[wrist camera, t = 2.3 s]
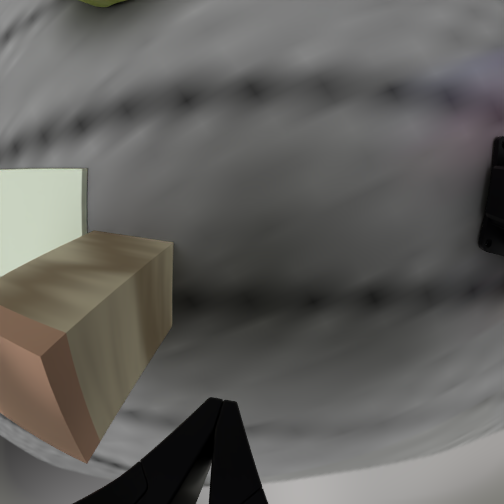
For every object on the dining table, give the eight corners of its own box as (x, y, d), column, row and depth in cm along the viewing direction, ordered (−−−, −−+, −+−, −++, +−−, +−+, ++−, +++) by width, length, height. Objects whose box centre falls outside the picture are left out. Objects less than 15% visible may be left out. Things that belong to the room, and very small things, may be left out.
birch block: (173, 242, 15) (40, 356, 5) (172, 325, 16) (87, 463, 7) (94, 230, 15) (-48, 305, 6) (99, 308, 17) (-4, 409, 7)
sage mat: (87, 168, 14) (82, 169, 14) (100, 350, 18) (96, 354, 17) (-19, 170, 15) (-23, 171, 14) (-2, 309, 19) (-5, 311, 18)
